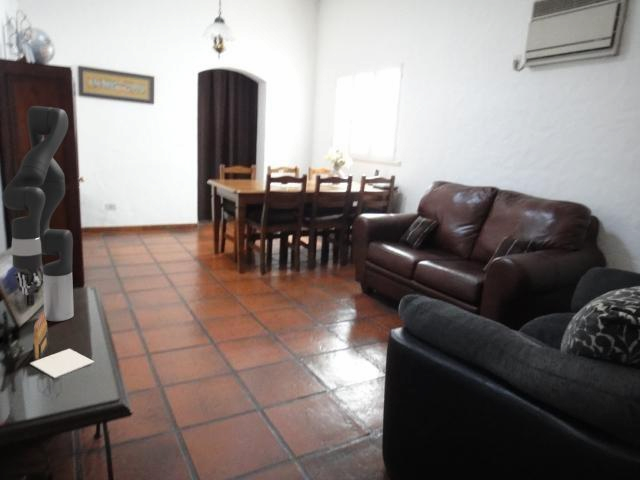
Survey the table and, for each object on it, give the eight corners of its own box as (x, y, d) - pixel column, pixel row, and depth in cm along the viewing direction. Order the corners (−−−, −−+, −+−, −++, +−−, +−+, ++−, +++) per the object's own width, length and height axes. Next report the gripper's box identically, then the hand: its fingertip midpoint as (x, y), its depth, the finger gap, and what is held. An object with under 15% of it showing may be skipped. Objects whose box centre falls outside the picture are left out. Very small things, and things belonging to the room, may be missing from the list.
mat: (29, 364, 132) (29, 362, 132) (69, 349, 142) (69, 348, 142) (54, 378, 126) (54, 377, 125) (94, 362, 136) (94, 361, 136)
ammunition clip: (40, 360, 134) (38, 323, 132) (33, 360, 134) (31, 323, 131) (48, 344, 144) (47, 309, 142) (42, 344, 144) (40, 310, 141)
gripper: (51, 253, 135) (53, 307, 139) (28, 245, 142) (30, 297, 145) (25, 257, 129) (28, 313, 132) (2, 249, 135) (5, 303, 139)
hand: (29, 305), depth 139 cm, fingers closed
